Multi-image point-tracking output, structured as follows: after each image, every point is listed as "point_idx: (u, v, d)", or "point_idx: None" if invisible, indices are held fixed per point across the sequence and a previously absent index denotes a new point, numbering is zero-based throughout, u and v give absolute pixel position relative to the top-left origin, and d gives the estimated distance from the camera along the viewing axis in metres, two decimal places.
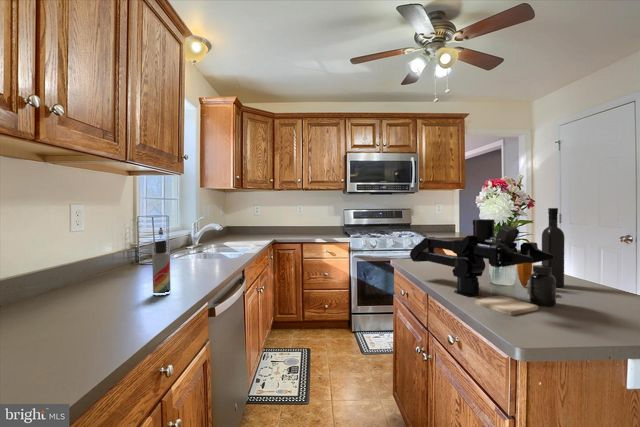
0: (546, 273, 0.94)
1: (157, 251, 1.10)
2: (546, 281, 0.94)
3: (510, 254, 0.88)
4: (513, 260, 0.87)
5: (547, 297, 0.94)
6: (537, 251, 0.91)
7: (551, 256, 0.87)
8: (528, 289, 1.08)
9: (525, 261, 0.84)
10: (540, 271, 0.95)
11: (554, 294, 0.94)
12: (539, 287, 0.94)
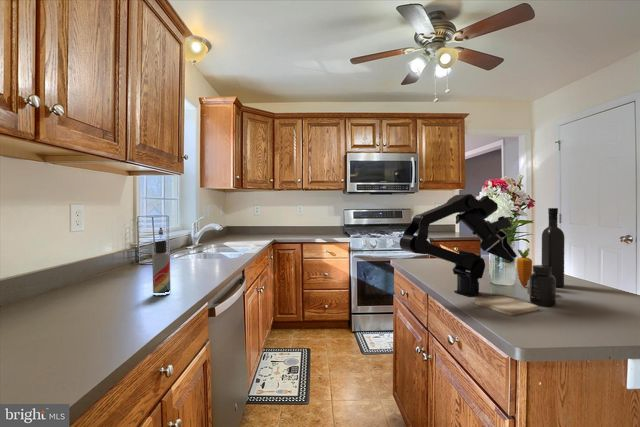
0: (546, 273, 0.94)
1: (157, 251, 1.10)
2: (545, 281, 0.94)
3: (500, 247, 0.98)
4: (498, 252, 0.99)
5: (547, 297, 0.94)
6: (507, 245, 1.06)
7: (515, 255, 1.05)
8: (528, 289, 1.08)
9: (506, 259, 0.98)
10: (540, 271, 0.95)
11: (554, 294, 0.94)
12: (539, 287, 0.94)
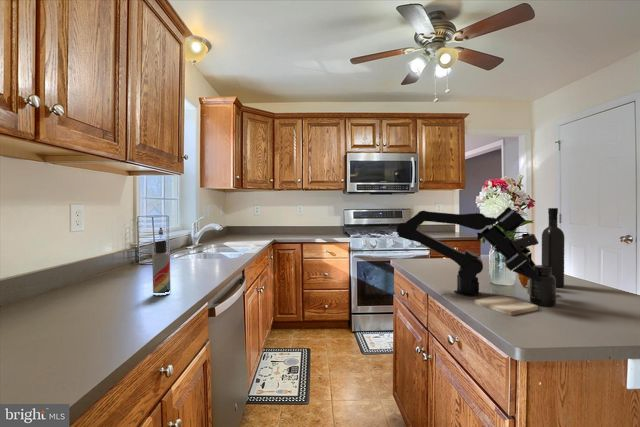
0: (546, 273, 0.94)
1: (157, 251, 1.10)
2: (546, 281, 0.94)
3: (527, 267, 0.94)
4: (525, 272, 0.95)
5: (547, 297, 0.94)
6: (531, 262, 1.02)
7: None
8: (528, 289, 1.08)
9: (534, 278, 0.94)
10: (540, 271, 0.95)
11: (554, 294, 0.94)
12: (539, 287, 0.94)
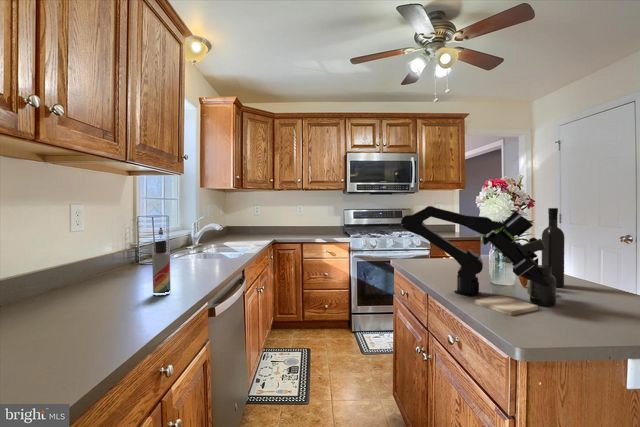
0: (546, 273, 0.94)
1: (157, 251, 1.10)
2: None
3: (535, 271, 0.94)
4: (532, 277, 0.94)
5: (547, 297, 0.94)
6: None
7: None
8: (528, 289, 1.08)
9: (541, 283, 0.94)
10: (540, 271, 0.95)
11: (554, 294, 0.94)
12: (539, 287, 0.94)
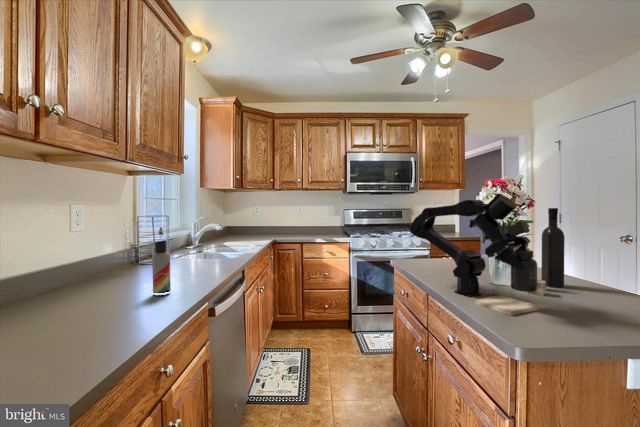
0: (524, 257, 0.91)
1: (157, 251, 1.10)
2: None
3: (510, 254, 0.92)
4: (508, 259, 0.92)
5: (524, 282, 0.91)
6: None
7: None
8: None
9: (516, 267, 0.91)
10: (518, 255, 0.92)
11: (532, 279, 0.90)
12: (516, 271, 0.92)
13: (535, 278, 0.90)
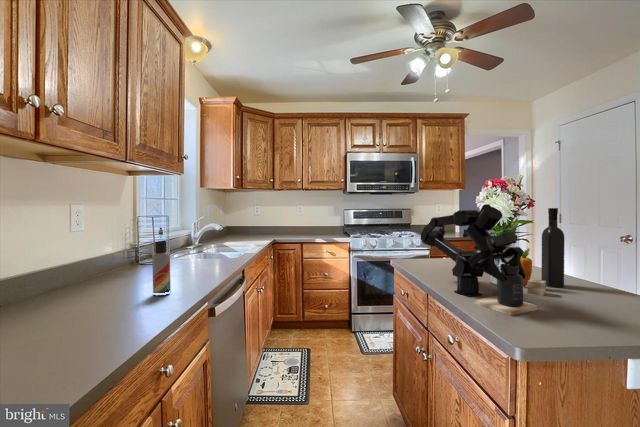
0: (508, 272, 0.91)
1: (157, 251, 1.10)
2: (505, 280, 0.91)
3: (490, 265, 0.92)
4: (489, 270, 0.93)
5: (507, 297, 0.91)
6: (517, 263, 0.96)
7: (523, 276, 0.94)
8: (528, 289, 1.08)
9: (497, 278, 0.91)
10: (503, 269, 0.93)
11: (516, 294, 0.90)
12: (500, 285, 0.92)
13: (519, 293, 0.90)
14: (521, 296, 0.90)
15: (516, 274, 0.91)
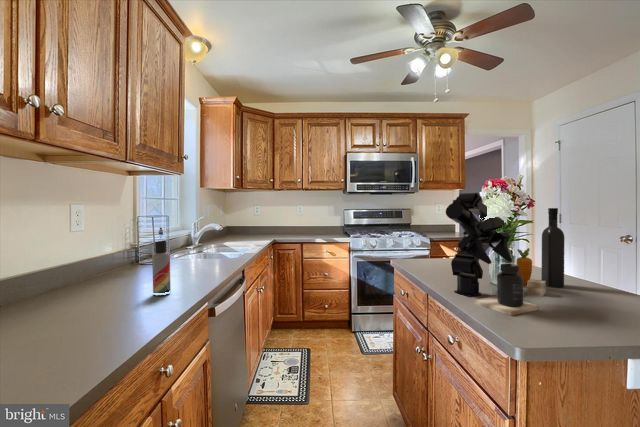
0: (508, 272, 0.91)
1: (157, 251, 1.10)
2: (505, 280, 0.91)
3: (478, 248, 0.96)
4: (476, 253, 0.97)
5: (507, 296, 0.91)
6: (503, 248, 1.00)
7: (509, 259, 0.98)
8: (528, 289, 1.08)
9: (484, 260, 0.95)
10: (503, 269, 0.93)
11: (516, 294, 0.90)
12: (500, 285, 0.92)
13: (519, 293, 0.90)
14: (521, 296, 0.90)
15: (516, 274, 0.91)
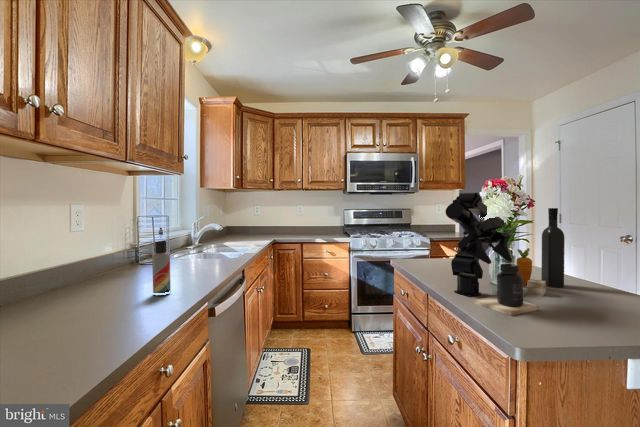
0: (508, 272, 0.91)
1: (157, 251, 1.10)
2: (505, 280, 0.91)
3: (478, 248, 0.96)
4: (476, 253, 0.97)
5: (507, 297, 0.91)
6: (503, 247, 1.00)
7: (509, 259, 0.98)
8: (528, 289, 1.08)
9: (484, 260, 0.95)
10: (503, 269, 0.93)
11: (516, 294, 0.90)
12: (500, 285, 0.92)
13: (519, 293, 0.90)
14: (521, 296, 0.90)
15: (516, 274, 0.91)
